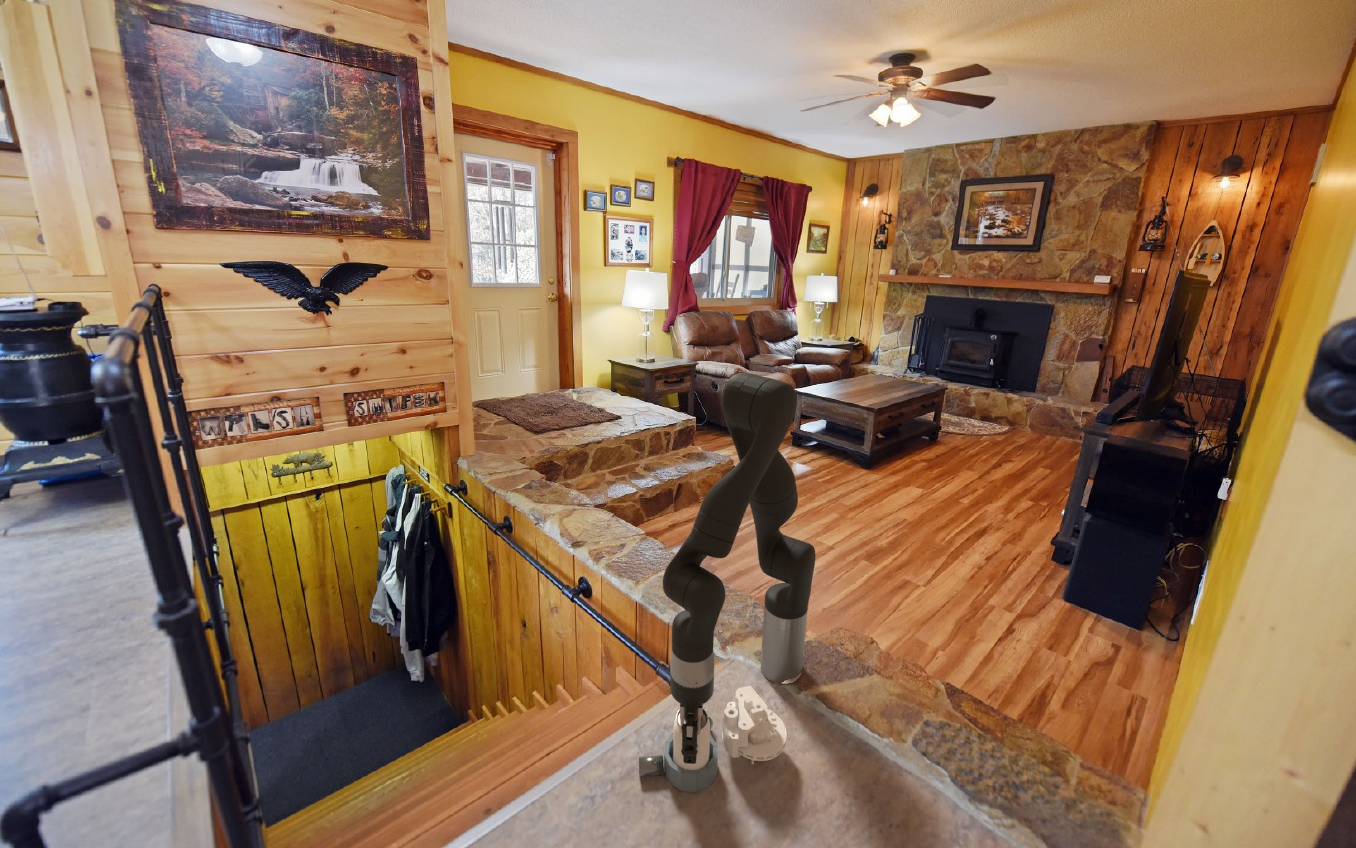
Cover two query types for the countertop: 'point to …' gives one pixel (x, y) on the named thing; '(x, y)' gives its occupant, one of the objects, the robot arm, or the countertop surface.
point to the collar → (690, 778)
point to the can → (702, 742)
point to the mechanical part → (752, 728)
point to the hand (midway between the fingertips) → (691, 740)
